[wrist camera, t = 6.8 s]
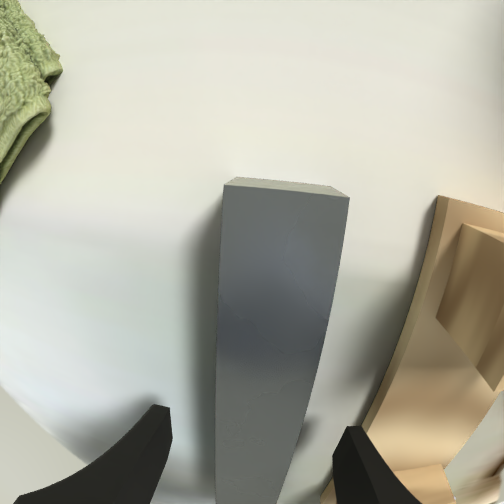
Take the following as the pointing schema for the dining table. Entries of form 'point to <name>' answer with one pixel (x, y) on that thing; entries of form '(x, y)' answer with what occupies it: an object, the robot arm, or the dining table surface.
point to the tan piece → (443, 353)
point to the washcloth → (22, 80)
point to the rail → (270, 326)
